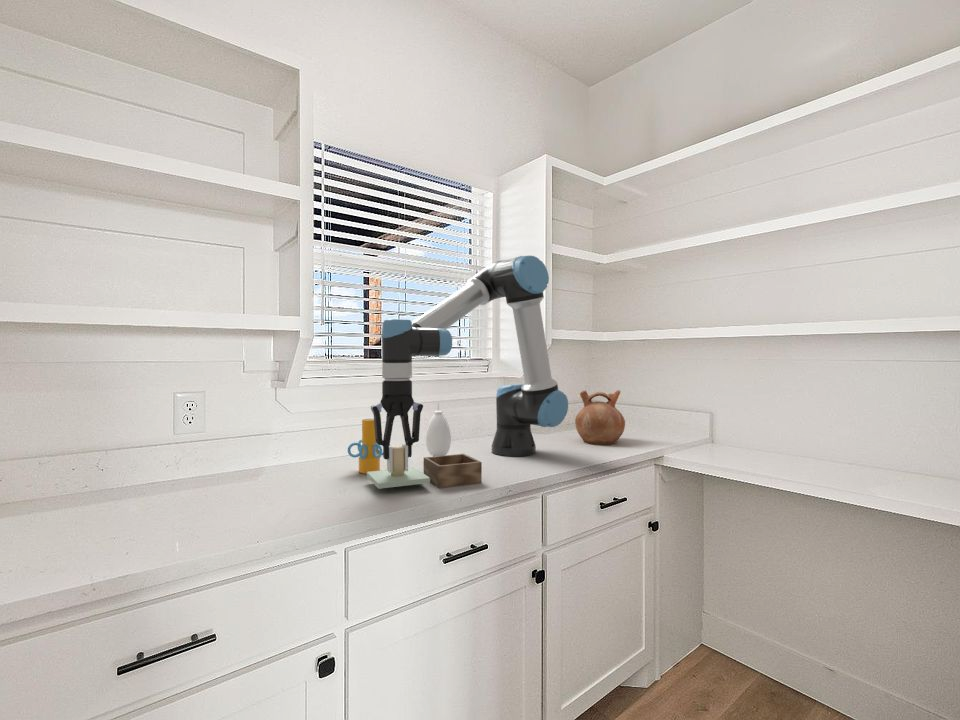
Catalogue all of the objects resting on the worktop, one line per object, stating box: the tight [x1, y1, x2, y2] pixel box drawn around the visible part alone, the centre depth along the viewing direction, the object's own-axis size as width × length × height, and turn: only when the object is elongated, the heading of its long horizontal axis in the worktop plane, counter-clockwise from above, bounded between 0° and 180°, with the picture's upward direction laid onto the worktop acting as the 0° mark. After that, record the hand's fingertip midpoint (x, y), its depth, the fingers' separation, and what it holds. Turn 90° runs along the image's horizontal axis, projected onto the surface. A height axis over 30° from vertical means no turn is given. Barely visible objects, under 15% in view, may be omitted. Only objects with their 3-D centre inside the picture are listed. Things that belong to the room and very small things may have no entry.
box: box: [423, 453, 483, 489], centre depth 135 cm, size 12×12×6 cm
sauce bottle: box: [425, 402, 452, 457], centre depth 162 cm, size 8×8×18 cm
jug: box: [574, 389, 626, 446], centre depth 192 cm, size 18×18×20 cm
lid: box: [366, 445, 431, 490], centre depth 129 cm, size 13×13×8 cm
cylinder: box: [347, 418, 383, 475], centre depth 145 cm, size 12×10×15 cm
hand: (397, 470), depth 129 cm, fingers closed on lid, 3 cm apart
